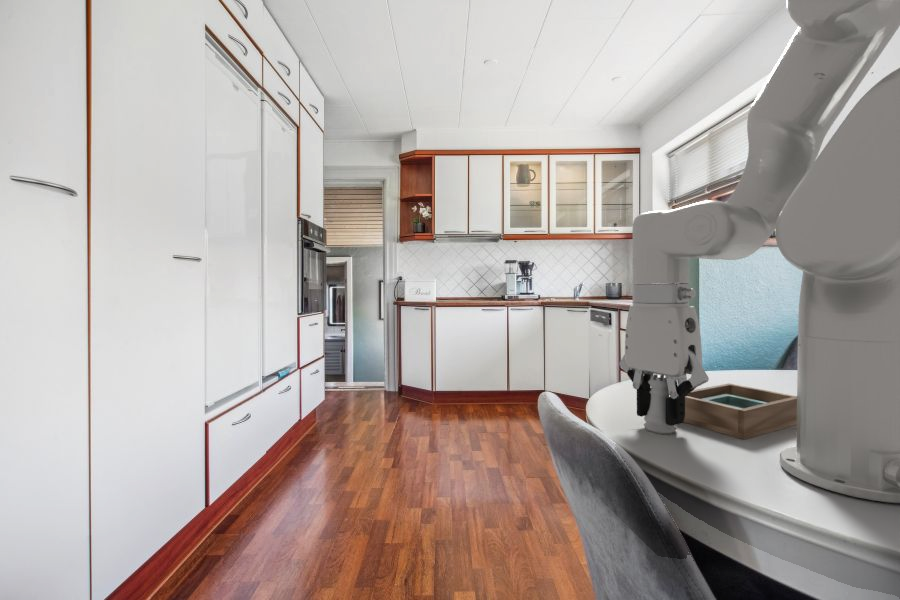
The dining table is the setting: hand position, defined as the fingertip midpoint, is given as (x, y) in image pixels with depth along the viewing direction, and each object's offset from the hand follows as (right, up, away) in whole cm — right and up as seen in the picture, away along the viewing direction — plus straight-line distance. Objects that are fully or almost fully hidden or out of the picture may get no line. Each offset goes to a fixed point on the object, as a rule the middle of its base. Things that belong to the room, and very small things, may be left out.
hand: (659, 417), depth 65 cm
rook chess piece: (0, -2, 0) cm, 2 cm away
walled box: (+14, -1, +4) cm, 14 cm away
